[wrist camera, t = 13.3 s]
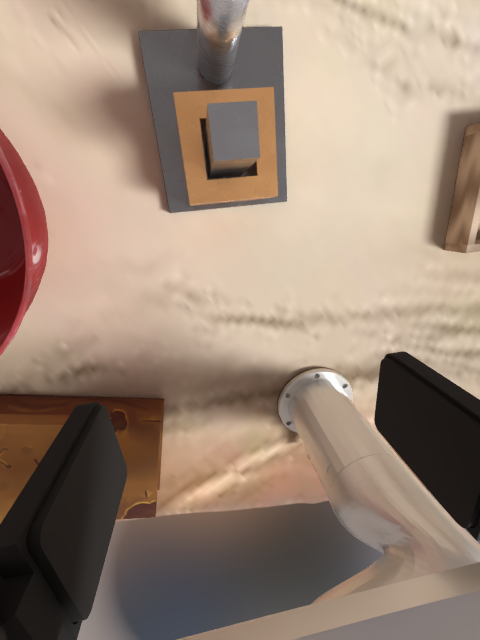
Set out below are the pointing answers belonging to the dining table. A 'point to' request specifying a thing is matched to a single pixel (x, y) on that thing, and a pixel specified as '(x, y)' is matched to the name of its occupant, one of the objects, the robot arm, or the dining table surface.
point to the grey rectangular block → (231, 138)
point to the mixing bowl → (18, 241)
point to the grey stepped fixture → (216, 87)
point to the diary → (46, 422)
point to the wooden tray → (466, 197)
